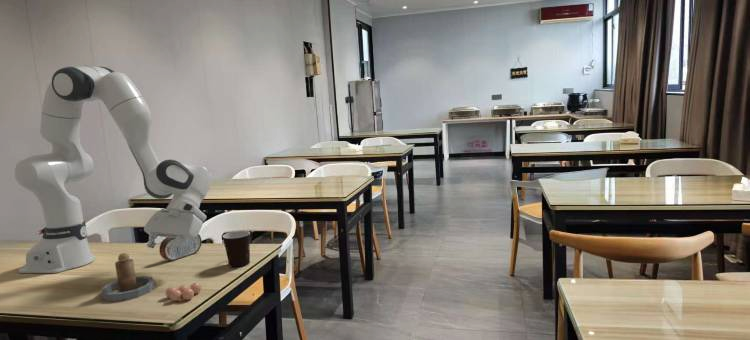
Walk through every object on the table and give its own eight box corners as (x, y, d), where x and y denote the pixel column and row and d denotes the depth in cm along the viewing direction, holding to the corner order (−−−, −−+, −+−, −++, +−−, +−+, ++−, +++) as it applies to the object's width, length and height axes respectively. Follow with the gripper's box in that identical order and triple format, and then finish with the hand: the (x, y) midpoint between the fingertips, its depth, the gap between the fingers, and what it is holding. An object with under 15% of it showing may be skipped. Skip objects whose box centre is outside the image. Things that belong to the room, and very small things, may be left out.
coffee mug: (245, 269, 154) (242, 238, 153) (220, 268, 156) (217, 238, 155) (261, 256, 166) (258, 228, 164) (238, 256, 167) (234, 228, 166)
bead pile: (160, 304, 131) (159, 293, 130) (171, 293, 138) (169, 282, 138) (194, 301, 131) (193, 290, 130) (203, 290, 138) (202, 280, 138)
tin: (199, 250, 178) (196, 227, 177) (204, 251, 176) (201, 228, 175) (160, 263, 166) (157, 239, 165) (165, 264, 164) (162, 240, 163)
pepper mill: (116, 295, 139) (110, 256, 137) (124, 289, 144) (118, 251, 142) (132, 294, 139) (127, 255, 137) (140, 287, 144) (134, 250, 142)
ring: (92, 302, 135) (91, 295, 134) (116, 284, 148) (115, 278, 147) (142, 299, 135) (141, 292, 135) (161, 281, 148) (160, 274, 148)
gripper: (152, 203, 161) (130, 241, 153) (198, 207, 152) (177, 246, 144) (165, 213, 165) (144, 250, 158) (210, 217, 156) (190, 256, 149)
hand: (160, 248), depth 151 cm, fingers open, 8 cm apart
